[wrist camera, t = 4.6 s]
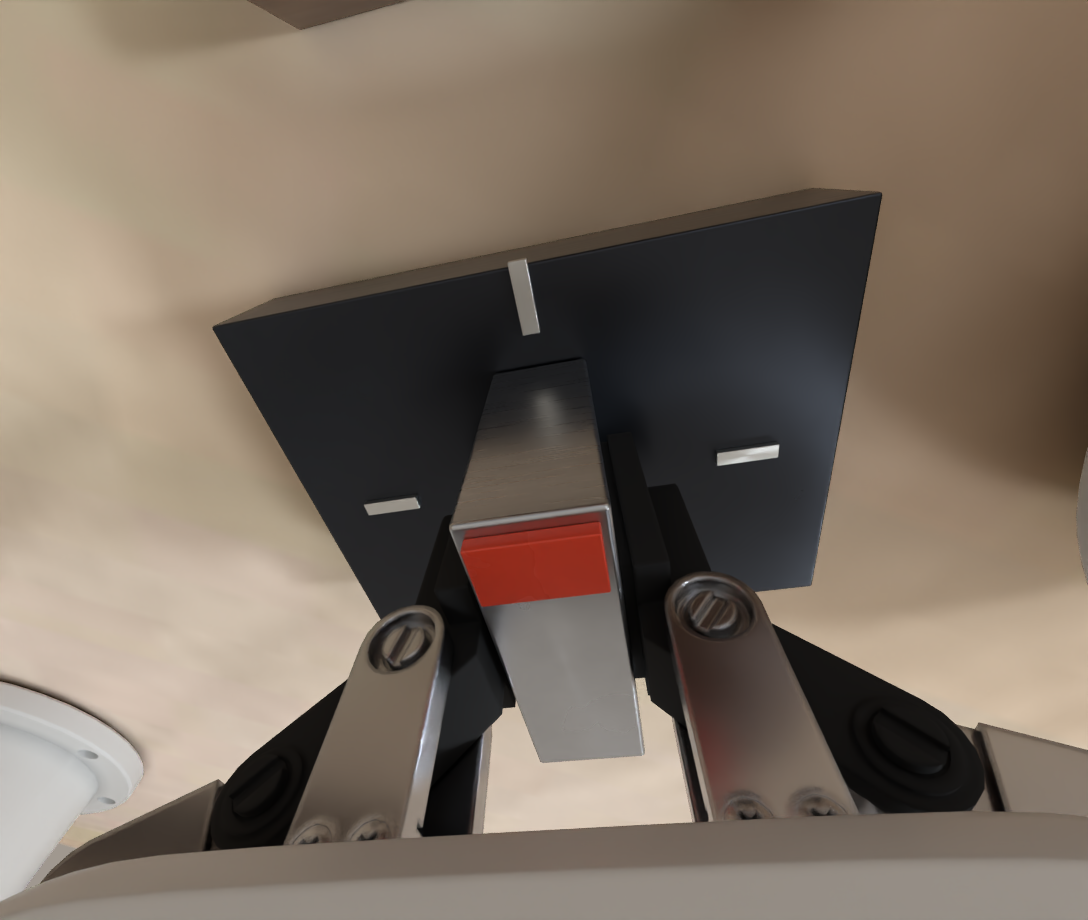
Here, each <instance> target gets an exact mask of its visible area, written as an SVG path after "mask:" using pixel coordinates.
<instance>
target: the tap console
mask: <svg viewBox="0 0 1088 920" xmlns="http://www.w3.org/2000/svg"><path fill="white" fill-rule="evenodd" d="M881 200H882V193H881V192H872V191H855V190H838V189H821V188H811V189H806V190H801V191H796V192H791V193H786V194H781V195H776V196H772V197H767V198H762V199H757V200H752V201H747V202H742V203H737V204H733V205H728V206H723V207H718V208H713V209H708V210H703V211H698V212H694V213H689V214H684V215H679V216H674V217H669V218H664V219H660V220H655V221H650V222H645V223H640V224H635V225H630V226H625V227H621V228H616V229H611V230H606V231H601V232H596V233H591V234H586V235H582V236H577V237H572V238H567V239H562V240H557V241H552V242H547V243H543V244H538V245H533V246H528V247H523V248H518V249H513V250H509V251H504V252H499V253H494V254H489V255H484V256H479V257H474V258H470V259H465V260H460V261H455V262H450V263H445V264H440V265H435V266H431V267H426V268H421V269H416V270H411V271H406V272H401V273H396V274H392V275H387V276H382V277H377V278H372V279H367V280H362V281H358V282H353V283H348V284H343V285H338V286H333V287H328V288H323V289H319V290H314V291H309V292H304V293H299V294H294V295H289V296H284V297H280V298H275V299H272V300H270V301H268V302H266V303H263V304H261V305H259V306H257V307H255V308H252V309H250V310H248V311H246V312H243V313H241V314H239V315H237V316H235V317H232V318H230V319H228V320H226V321H223V322H221V323H219V324H217V325H215V326H213V327H212V328H213V331H214V332H215V334H216V336H217V337H218V339H219V341H220V343H221V344H222V346H223V348H224V350H225V351H226V353H227V355H228V356H229V358H230V360H231V362H232V363H233V365H234V367H235V369H236V370H237V372H238V374H239V375H240V377H241V379H242V381H243V382H244V384H245V386H246V388H247V389H248V391H249V393H250V394H251V396H252V398H253V400H254V401H255V403H256V405H257V407H258V408H259V410H260V412H261V413H262V415H263V417H264V419H265V420H266V422H267V424H268V426H269V427H270V429H271V431H272V432H273V434H274V436H275V438H276V439H277V441H278V443H279V445H280V446H281V448H282V450H283V451H284V453H285V455H286V457H287V458H288V460H289V462H290V464H291V465H292V467H293V469H294V470H295V472H296V474H297V476H298V477H299V479H300V481H301V483H302V484H303V486H304V488H305V489H306V491H307V493H308V495H309V496H310V498H311V500H312V501H313V503H314V505H315V507H316V508H317V510H318V512H319V514H320V515H321V517H322V519H323V520H324V522H325V524H326V526H327V527H328V529H329V531H330V533H331V534H332V536H333V538H334V539H335V541H336V543H337V545H338V546H339V548H340V550H341V552H342V553H343V555H344V557H345V558H346V560H347V562H348V564H349V565H350V567H351V569H352V571H353V572H354V574H355V576H356V577H357V579H358V581H359V583H360V584H361V586H362V588H363V590H364V591H365V593H366V595H367V596H368V598H369V600H370V602H371V603H372V605H373V607H374V609H375V610H376V612H377V614H378V615H379V617H380V619H382V618H384V617H385V616H386V615H388V614H389V613H391V612H393V611H395V610H397V609H399V608H403V607H406V606H410V605H415V604H416V600H417V597H418V594H419V591H420V588H421V585H422V582H423V578H424V575H425V572H426V569H427V566H428V563H429V560H430V556H431V553H432V550H433V547H434V544H435V541H436V538H437V535H438V531H439V528H440V525H441V522H442V520H443V518H444V517H445V516H446V515H452V514H453V511H454V508H455V504H456V501H457V498H458V494H459V491H460V487H461V484H462V481H463V477H464V474H465V470H466V467H467V464H468V460H469V457H470V454H471V450H472V447H473V443H474V440H475V437H476V433H477V430H478V426H479V423H480V420H481V416H482V413H483V409H484V406H485V403H486V399H487V396H488V392H489V389H490V386H491V382H492V379H493V375H495V374H499V373H504V372H510V371H516V370H522V369H527V368H533V367H539V366H545V365H550V364H556V363H562V362H568V361H573V360H579V359H584V360H585V361H586V365H587V370H588V376H589V382H590V388H591V393H592V399H593V405H594V411H595V416H596V422H597V428H598V434H599V440H600V443H601V442H607V435H611V434H618V433H624V432H631V433H632V437H633V440H634V443H635V447H636V450H637V453H638V457H639V460H640V463H641V467H642V470H643V473H644V477H645V480H646V483H647V487H653V486H660V485H667V484H676V485H677V486H678V488H679V490H680V493H681V495H682V498H683V500H684V503H685V505H686V508H687V510H688V513H689V515H690V518H691V520H692V523H693V525H694V528H695V531H696V533H697V536H698V538H699V541H700V543H701V546H702V548H703V551H704V553H705V556H706V558H707V561H708V563H709V566H710V568H711V571H715V572H719V573H724V574H728V575H731V576H733V577H735V578H737V579H739V580H741V581H743V582H744V583H745V584H747V585H748V586H749V587H750V588H751V589H753V590H754V592H759V591H768V590H777V589H787V588H796V587H805V586H811V584H812V579H813V573H814V568H815V562H816V557H817V551H818V546H819V540H820V535H821V529H822V524H823V518H824V513H825V507H826V502H827V496H828V491H829V485H830V480H831V474H832V469H833V463H834V458H835V452H836V447H837V441H838V436H839V430H840V425H841V419H842V414H843V408H844V403H845V397H846V392H847V386H848V381H849V375H850V370H851V364H852V359H853V353H854V348H855V342H856V337H857V331H858V326H859V320H860V315H861V309H862V304H863V298H864V293H865V287H866V282H867V277H868V271H869V266H870V260H871V255H872V249H873V244H874V238H875V233H876V227H877V222H878V216H879V211H880V205H881Z"/></svg>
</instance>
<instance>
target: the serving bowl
mask: <svg viewBox="0 0 1088 920" xmlns="http://www.w3.org/2000/svg"><path fill="white" fill-rule="evenodd" d="M1076 519H1077V538H1078V545H1079V551H1080V557H1081V562H1082V566H1083V569H1084V573H1085V577H1086V581H1087V584H1088V449H1087V452H1086V455H1085V460H1084V465H1083V469H1082V474H1081V478H1080V483H1079V493H1078V502H1077V512H1076Z"/></svg>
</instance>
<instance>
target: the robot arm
mask: <svg viewBox="0 0 1088 920" xmlns="http://www.w3.org/2000/svg"><path fill="white" fill-rule="evenodd" d="M600 445H601V451H602V457H603V463H604V468H605V474H606V480H607V486H608V491H609V497H610V503H611V509H612V516H613V524H614V531H615V538H616V545H617V553H618V560H619V567H620V574H621V582H622V589H623V596H624V603H625V610H626V618H627V625H628V632H629V639H630V647H631V654H632V661H633V668H634V676H635V678H645V680H646V686H647V691H648V695H650V698H651V701H652V702H653V703H654V704H656V705H657V706H658V707H660V708H661V709H662V710H664V711H665V712H666V713H668V714H669V715H670V716H672V722H673V727H674V732H675V737H676V742H677V747H678V752H679V757H680V762H681V767H682V772H683V777H684V782H685V787H686V792H687V797H688V802H689V807H690V812H691V817H692V822H693V823H673V824H653V825H634V826H615V827H597V828H579V829H560V830H542V831H524V832H506V833H488V834H483V829H484V818H485V807H486V796H487V786H488V775H489V764H490V753H491V742H492V724H493V723H494V722H495V721H496V720H497V719H498V718H499V717H500V716H501V715H502V709H503V708H511V707H515V703H516V698H515V696H514V693H513V691H512V688H511V685H510V683H509V680H508V678H507V675H506V673H505V670H504V668H503V665H502V663H501V660H500V657H499V655H498V652H497V650H496V647H495V645H494V642H493V640H492V637H491V635H490V632H489V629H488V627H487V624H486V622H485V619H484V617H483V614H482V612H481V609H480V607H479V604H478V601H477V599H476V596H475V594H474V591H473V589H472V586H471V584H470V581H469V579H468V576H467V574H466V571H465V568H464V566H463V563H462V561H461V558H460V556H459V553H458V551H457V548H456V546H455V543H454V540H453V538H452V535H451V533H450V530H449V525H450V521H451V518H452V515H453V514H452V515H446V516H445V517H444V518H443V520H442V522H441V525H440V528H439V531H438V535H437V538H436V541H435V544H434V547H433V550H432V553H431V556H430V560H429V563H428V566H427V569H426V572H425V575H424V578H423V582H422V585H421V588H420V591H419V594H418V597H417V600H416V604H415V605H410V606H406V607H403V608H399V609H397V610H395V611H393V612H391V613H389V614H388V615H386V616H385V617H384V618H382V619H381V620H380V621H378V622H377V623H376V624H375V625H374V626H373V628H372V629H371V630H370V631H369V632H368V633H367V635H366V637H365V639H364V641H363V642H362V644H361V647H360V649H359V652H358V654H357V657H356V659H355V662H354V665H353V667H352V670H351V672H350V675H349V677H348V679H347V680H346V681H345V682H343V683H342V684H341V685H340V686H338V687H337V688H336V689H334V690H333V691H332V692H331V693H329V694H328V695H327V696H326V697H324V698H323V699H322V700H320V701H319V702H318V703H317V704H315V705H314V706H313V707H312V708H310V709H309V710H308V711H307V712H305V713H304V714H303V715H301V716H300V717H299V718H298V719H296V720H295V721H294V722H293V723H291V724H290V725H289V726H288V727H286V728H285V729H284V730H282V731H281V732H280V733H279V734H277V735H276V736H275V737H274V738H272V739H271V740H270V741H268V742H267V743H266V744H265V745H263V746H262V747H261V748H260V749H258V750H257V751H256V752H255V753H253V754H252V755H251V756H250V757H249V758H248V759H247V760H246V761H245V762H244V763H242V764H241V765H240V766H239V767H238V768H237V770H236V771H235V772H234V773H233V775H232V776H231V777H230V779H229V780H228V781H227V782H226V784H224V783H223V782H221V781H220V780H219V779H218V780H216V781H214V782H211V783H209V784H207V785H205V786H203V787H201V788H199V789H197V790H195V791H193V792H191V793H188V794H186V795H184V796H182V797H180V798H178V799H176V800H174V801H172V802H170V803H167V804H165V805H163V806H161V807H159V808H157V809H155V810H153V811H151V812H149V813H146V814H144V815H142V816H140V817H138V818H136V819H134V820H132V821H130V822H128V823H125V824H123V825H121V826H119V827H117V828H115V829H113V830H111V831H109V832H107V833H105V834H102V835H100V836H98V837H96V838H94V839H92V840H90V841H88V842H87V843H85V844H84V845H82V846H80V847H79V848H77V849H76V850H74V851H72V852H71V853H70V854H69V855H68V856H66V858H64V859H63V860H62V861H61V862H60V863H59V864H57V865H56V866H55V867H54V868H53V869H52V870H51V871H50V872H49V874H47V876H46V877H45V878H44V880H42V882H41V883H40V884H38V885H36V886H34V887H31V888H29V889H27V890H24V889H25V888H26V886H27V885H28V884H29V882H30V881H31V880H32V878H33V877H34V876H35V874H36V873H37V872H38V870H39V869H40V867H41V866H42V865H43V863H44V862H45V861H46V859H47V858H48V857H49V855H50V854H51V852H52V851H53V850H54V848H55V847H56V846H57V844H58V843H59V842H60V840H61V839H62V838H63V836H64V835H65V834H66V832H67V831H68V829H69V828H70V827H71V825H72V824H73V823H74V821H75V820H76V819H77V817H78V816H79V815H83V814H91V813H99V812H102V811H106V810H109V809H113V808H115V807H117V806H118V805H120V804H122V803H124V802H125V801H126V800H127V799H128V798H129V797H130V796H131V794H132V793H133V791H134V790H135V788H136V787H137V785H138V784H139V782H140V781H141V779H142V777H143V775H144V770H143V762H142V760H141V758H140V756H139V754H138V752H137V751H136V750H135V749H134V747H133V746H132V745H131V744H130V743H129V742H128V741H127V740H126V739H125V738H124V737H122V736H121V735H120V734H119V733H118V732H116V731H115V730H114V729H112V728H111V727H109V726H108V725H106V724H104V723H103V722H101V721H100V720H98V719H97V718H95V717H93V716H91V715H89V714H87V713H85V712H83V711H81V710H79V709H77V708H75V707H73V706H71V705H69V704H67V703H64V702H62V701H59V700H57V699H54V698H52V697H49V696H47V695H44V694H42V693H38V692H35V691H32V690H29V689H26V688H23V687H20V686H17V685H13V684H9V683H5V682H1V681H0V920H1088V750H1085V749H1081V748H1077V747H1073V746H1069V745H1066V744H1062V743H1058V742H1054V741H1050V740H1046V739H1042V738H1038V737H1034V736H1030V735H1026V734H1022V733H1018V732H1014V731H1010V730H1006V729H1003V728H999V727H995V726H991V725H987V724H983V723H978V725H977V726H976V728H975V729H972V728H968V727H964V726H960V725H956V724H955V723H954V722H953V721H951V720H950V719H949V718H948V717H947V716H946V715H945V714H944V713H942V712H941V711H939V710H938V709H936V708H934V707H933V706H931V705H930V704H928V703H926V702H925V701H923V700H921V699H919V698H918V697H916V696H914V695H912V694H910V693H908V692H906V691H904V690H902V689H900V688H898V687H896V686H894V685H892V684H890V683H888V682H886V681H884V680H882V679H880V678H878V677H876V676H874V675H872V674H870V673H868V672H866V671H864V670H862V669H860V668H858V667H857V666H855V665H853V664H851V663H849V662H847V661H845V660H843V659H841V658H839V657H837V656H835V655H833V654H831V653H829V652H827V651H825V650H823V649H821V648H819V647H817V646H815V645H813V644H811V643H809V642H807V641H805V640H803V639H801V638H799V637H797V636H796V635H794V634H792V633H790V632H788V631H786V630H784V629H782V628H780V627H778V626H776V625H774V624H772V623H771V621H770V619H769V617H768V615H767V613H766V610H765V608H764V606H763V604H762V602H761V600H760V599H759V597H758V596H757V594H756V593H755V592H754V590H753V589H751V588H750V587H749V586H748V585H747V584H745V583H744V582H743V581H741V580H739V579H737V578H735V577H733V576H731V575H728V574H724V573H719V572H715V571H711V568H710V566H709V563H708V561H707V558H706V556H705V553H704V551H703V548H702V546H701V543H700V541H699V538H698V536H697V533H696V531H695V528H694V525H693V523H692V520H691V518H690V515H689V513H688V510H687V508H686V505H685V503H684V500H683V498H682V495H681V493H680V490H679V488H678V486H677V485H676V484H667V485H660V486H653V487H647V483H646V480H645V477H644V473H643V470H642V467H641V463H640V460H639V457H638V453H637V450H636V447H635V443H634V440H633V437H632V433H631V432H624V433H618V434H611V435H607V442H601V443H600ZM23 890H24V891H23Z"/></svg>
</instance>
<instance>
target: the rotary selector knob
mask: <svg viewBox="0 0 1088 920" xmlns="http://www.w3.org/2000/svg"><path fill="white" fill-rule="evenodd" d="M449 530H450V533H451V535H452V538H453V540H454V543H455V546H456V548H457V551H458V553H459V556H460V558H461V561H462V563H463V566H464V568H465V571H466V574H467V576H468V579H469V581H470V584H471V586H472V589H473V591H474V594H475V596H476V599H477V601H478V604H479V607H480V609H481V612H482V614H483V617H484V619H485V622H486V624H487V627H488V629H489V632H490V635H491V637H492V640H493V642H494V645H495V647H496V650H497V652H498V655H499V657H500V660H501V663H502V665H503V668H504V670H505V673H506V675H507V678H508V680H509V683H510V685H511V688H512V691H513V693H514V696H515V698H516V701H517V703H518V706H519V708H520V711H521V713H522V716H523V718H524V721H525V724H526V726H527V729H528V731H529V734H530V736H531V739H532V741H533V744H534V746H535V749H536V752H537V754H538V757H539V759H540V762H543V763H548V762H562V761H575V760H589V759H603V758H617V757H630V756H642V755H644V752H645V748H644V741H643V734H642V726H641V719H640V712H639V705H638V697H637V690H636V683H635V676H634V668H633V661H632V654H631V647H630V639H629V632H628V625H627V618H626V610H625V603H624V596H623V589H622V582H621V574H620V567H619V560H618V553H617V545H616V538H615V531H614V524H613V516H612V509H611V503H610V497H609V491H608V486H607V480H606V474H605V468H604V463H603V457H602V451H601V445H600V440H599V434H598V428H597V422H596V416H595V411H594V405H593V399H592V393H591V388H590V382H589V376H588V370H587V365H586V361H585V360H584V359H579V360H573V361H568V362H562V363H556V364H550V365H545V366H539V367H533V368H527V369H522V370H516V371H510V372H504V373H499V374H495V375H493V379H492V382H491V386H490V389H489V392H488V396H487V399H486V403H485V406H484V409H483V413H482V416H481V420H480V423H479V426H478V430H477V433H476V437H475V440H474V443H473V447H472V450H471V454H470V457H469V460H468V464H467V467H466V470H465V474H464V477H463V481H462V484H461V487H460V491H459V494H458V498H457V501H456V504H455V508H454V511H453V515H452V518H451V521H450V525H449Z"/></svg>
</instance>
